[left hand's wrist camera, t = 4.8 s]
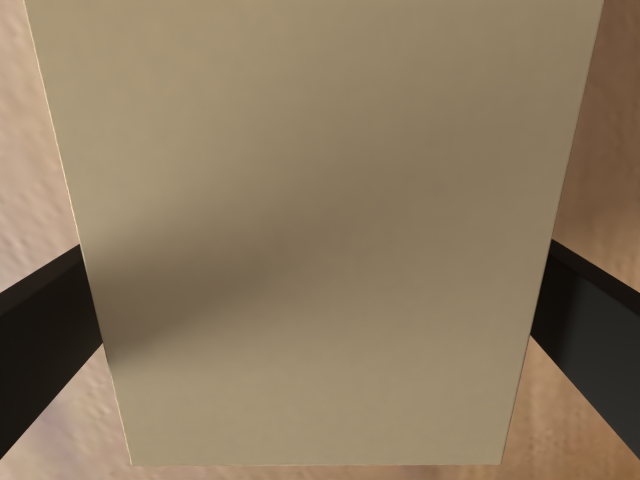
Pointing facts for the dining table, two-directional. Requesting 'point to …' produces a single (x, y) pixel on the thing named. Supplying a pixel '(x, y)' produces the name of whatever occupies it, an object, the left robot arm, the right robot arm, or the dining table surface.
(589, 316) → the left robot arm
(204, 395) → the cabinet
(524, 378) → the dining table surface
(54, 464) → the dining table surface
